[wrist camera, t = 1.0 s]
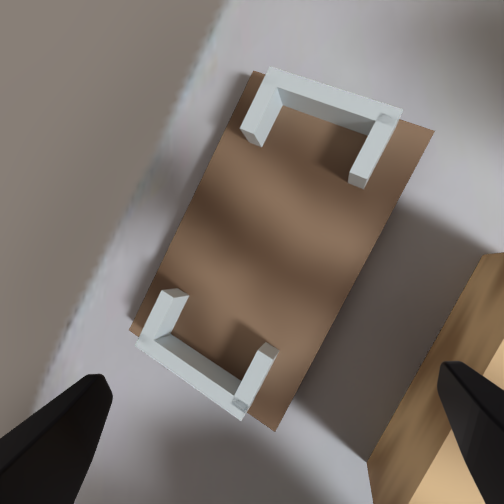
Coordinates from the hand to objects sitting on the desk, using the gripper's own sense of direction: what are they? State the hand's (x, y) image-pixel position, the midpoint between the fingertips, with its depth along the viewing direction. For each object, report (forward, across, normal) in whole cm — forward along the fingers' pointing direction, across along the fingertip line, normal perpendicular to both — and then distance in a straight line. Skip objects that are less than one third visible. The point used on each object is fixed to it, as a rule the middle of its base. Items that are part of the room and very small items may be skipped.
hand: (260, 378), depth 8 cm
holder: (+13, 0, +2) cm, 13 cm away
